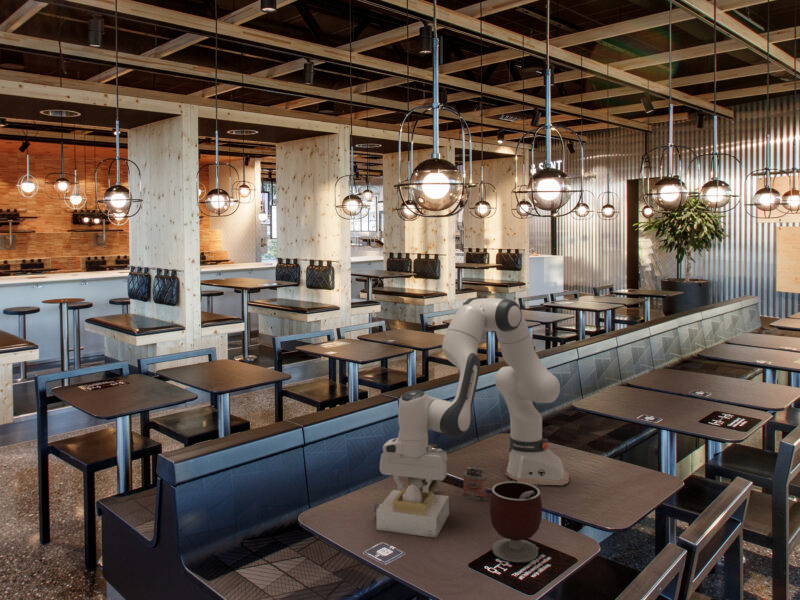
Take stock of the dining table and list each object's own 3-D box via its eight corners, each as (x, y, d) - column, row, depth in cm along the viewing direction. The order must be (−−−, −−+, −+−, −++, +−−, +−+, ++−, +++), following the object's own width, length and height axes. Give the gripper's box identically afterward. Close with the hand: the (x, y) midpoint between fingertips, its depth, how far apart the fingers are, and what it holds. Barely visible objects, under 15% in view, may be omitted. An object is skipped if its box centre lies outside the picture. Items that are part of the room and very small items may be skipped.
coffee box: (423, 500, 209) (423, 452, 208) (407, 495, 213) (407, 448, 212) (438, 491, 216) (438, 445, 215) (423, 487, 220) (423, 441, 219)
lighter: (461, 496, 212) (461, 467, 211) (465, 493, 215) (465, 464, 214) (484, 501, 208) (484, 471, 207) (487, 497, 211) (488, 468, 210)
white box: (448, 514, 198) (448, 489, 197) (436, 537, 183) (436, 510, 182) (384, 507, 204) (384, 482, 203) (367, 528, 189) (366, 502, 188)
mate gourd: (480, 544, 179) (480, 474, 177) (523, 535, 184) (524, 468, 182) (508, 570, 164) (509, 495, 162) (555, 561, 169) (556, 487, 167)
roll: (415, 478, 196) (425, 484, 191) (415, 516, 197) (425, 522, 193) (398, 482, 193) (408, 488, 188) (398, 520, 194) (408, 527, 189)
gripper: (449, 445, 191) (449, 490, 192) (384, 439, 197) (384, 483, 198) (444, 452, 185) (444, 498, 186) (377, 445, 191) (377, 491, 192)
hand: (413, 490), depth 192 cm, fingers open, 6 cm apart
